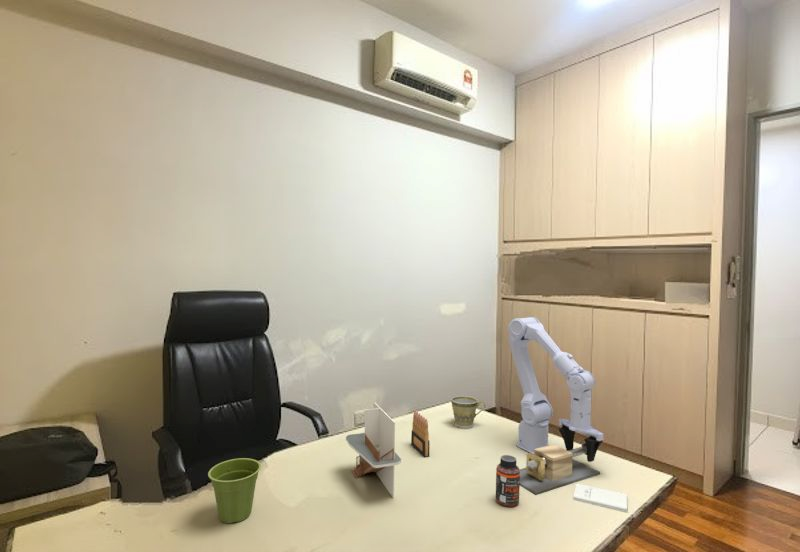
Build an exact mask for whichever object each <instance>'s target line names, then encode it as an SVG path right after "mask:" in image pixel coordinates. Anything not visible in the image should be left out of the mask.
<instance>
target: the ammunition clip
mask: <svg viewBox="0 0 800 552" xmlns="http://www.w3.org/2000/svg"><path fill="white" fill-rule="evenodd" d="M411 428H412V429H411V439H410V440H411V442H410V445H411V446H412V448H414V449H415V450H416V451H417V452H418V453H419V455H421V456H422V457H423V458H427V457H429V458H430V440H429V439H430V438H429V437H430V433H429V421H428V419H427V418H425V416H423V415H422V414H421V413H419V411H416V410H414V411H413V417H412V427H411Z"/></svg>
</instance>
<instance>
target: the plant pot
mask: <svg viewBox="0 0 800 552" xmlns="http://www.w3.org/2000/svg"><path fill="white" fill-rule="evenodd" d="M261 469H262V463H261V462H259V461H258V460H256V459H253V458H247V457H246V458H245V457H242V458H241V457H239V458H232V459H228V460H225V461H222V462H219V463H217V464H215V465H214V466H212V467H211V468H210V469H209V471H208V472H207V476H208V478H209V479H210V481H211V486H212V487H213V492H214V497H215V502H216V507H217V513H218V518H219V520H220V521H221V522H223V523H226V524H232V523H235V522H238V523H240V522H241V521H244V520H246V519H247V518H249V517H250V515H251V514H252V511H253V505H254V497H255V490H256V483H257V480H258V476H259V472H260V470H261Z"/></svg>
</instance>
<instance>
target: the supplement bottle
mask: <svg viewBox="0 0 800 552" xmlns="http://www.w3.org/2000/svg"><path fill="white" fill-rule="evenodd" d="M499 461H500V463H498V464H497V465H496V469H495V470H496V471H495V473H496V475H495V500H496V502H497V503H499V504H500V505H501V506H504V507H511V508H512V507H515V506H518V505H519V503H520V487H521V486H520V468H519V466H518V464H517V458H516V457H515V456H513V455H509V454H504V455H501V456H500V460H499Z"/></svg>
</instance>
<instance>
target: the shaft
mask: <svg viewBox="0 0 800 552" xmlns="http://www.w3.org/2000/svg"><path fill="white" fill-rule="evenodd" d="M568 451H569V452H571V453H572V458H575V457H579V456H582V455H585V456H587V448H586V443H582V444H581V446H579V447H575V448H573V449H571V450H568ZM542 459H544V460H545V465H547V458H545V457H542ZM525 464H526V465H527V467H528V469H533V468H536V467H538V462H536V461H534V460H531V461H527V463H525Z"/></svg>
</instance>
